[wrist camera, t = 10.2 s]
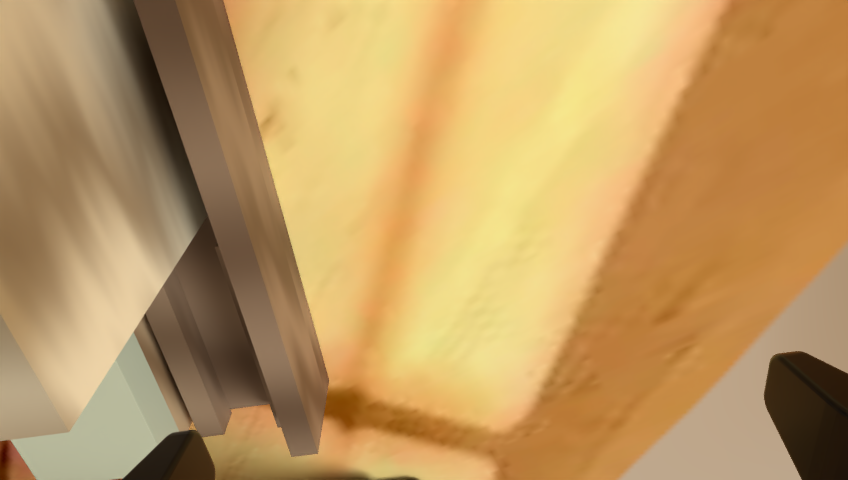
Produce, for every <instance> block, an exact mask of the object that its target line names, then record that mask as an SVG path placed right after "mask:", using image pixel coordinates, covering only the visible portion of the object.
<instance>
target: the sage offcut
mask: <svg viewBox="0 0 848 480" xmlns="http://www.w3.org/2000/svg"><path fill="white" fill-rule="evenodd" d="M173 432H179V430H178V427H177V425H176V423H175V421H174V419H173V417H172V414H171V412H170V410H169V408H168V406H167V404H166V401H165V399H164V397H163V395H162V393H161V391H160V388H159V386H158V384H157V382H156V380H155V378H154V375H153V373H152V371H151V369H150V367H149V365H148V362H147V360H146V358H145V356H144V354H143V352H142V349H141V347H140V345H139V343H138V341H137V339H136V336H135V334H134V332H133V333H132V335H131V336H130V338H129V339H128V341H127V343H126V344H125V346H124V347H123V349H122V350H121V352H120V354H119V355H118V357H117V358H116V360H115V361H114V363H113V365H112V366H111V368H110V369H109V371H108V372H107V374H106V375H105V377H104V379H103V380H102V382H101V383H100V385H99V386H98V388H97V390H96V391H95V393H94V394H93V396H92V397H91V399H90V401H89V402H88V404H87V405H86V407H85V408H84V410H83V411H82V413H81V415H80V416H79V418H78V419H77V421H76V422H75V424H74V426H73V427H72V429H71V430H70V432H67V433H60V434H52V435H44V436H36V437H29V438H21V439H13V440H11V442H12V443H13V445H14V446H15V448H16V449H17V451H18V452H19V454H20V455H21V457H22V458H23V460H24V461H25V463H26V464H27V466H28V467H29V469H30V471H31V472H32V474H33V475H34V477H35V478H36V480H113V479H121V478H124V477H125V476H126V475H127V474H128V473H129V472H130V471H131V470H132V469H133V468H134V467H135V466H136V465H137V464H138V463H139V462H140V461H141V460H143V459H144V458H145V457H146V456H147V455H148V454H149V453H150V452H151V451H152V450H153V449H154V448H155V447H156V446H157V445H158V444H159V443H160V442H161V441H162V440H163V439H164V438H165V437H166V436H168V435H169V434H171V433H173Z"/></svg>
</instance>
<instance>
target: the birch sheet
mask: <svg viewBox="0 0 848 480" xmlns="http://www.w3.org/2000/svg"><path fill="white" fill-rule="evenodd" d="M207 216H208V214H207V211H206V208H205V206H204V203H203V200H202V197H201V194H200V191H199V188H198V185H197V182H196V180H195V177H194V174H193V171H192V168H191V165H190V162H189V159H188V156H187V154H186V151H185V148H184V145H183V142H182V139H181V136H180V133H179V131H178V128H177V125H176V122H175V119H174V116H173V113H172V110H171V107H170V105H169V102H168V99H167V96H166V93H165V90H164V87H163V84H162V81H161V79H160V76H159V73H158V70H157V67H156V64H155V61H154V58H153V55H152V53H151V50H150V47H149V44H148V41H147V38H146V35H145V32H144V30H143V27H142V24H141V21H140V18H139V15H138V12H137V9H136V6H135V4H134V1H133V0H0V441H5V440H13V439H21V438H29V437H36V436H44V435H52V434H60V433H67V432H70V430H71V429H72V427H73V426H74V424H75V422H76V421H77V419H78V418H79V416H80V415H81V413H82V411H83V410H84V408H85V407H86V405H87V404H88V402H89V401H90V399H91V397H92V396H93V394H94V393H95V391H96V390H97V388H98V386H99V385H100V383H101V382H102V380H103V379H104V377H105V375H106V374H107V372H108V371H109V369H110V368H111V366H112V365H113V363H114V361H115V360H116V358H117V357H118V355H119V354H120V352H121V350H122V349H123V347H124V346H125V344H126V343H127V341H128V339H129V338H130V336H131V335H132V333H133V332H134V330H135V329H136V327H137V325H138V324H139V322H140V321H141V319H142V318H143V316H144V314H145V313H146V311H147V310H148V308H149V307H150V305H151V303H152V302H153V300H154V299H155V297H156V296H157V294H158V292H159V291H160V289H161V288H162V286H163V285H164V283H165V282H166V280H167V278H168V277H169V275H170V274H171V272H172V271H173V269H174V267H175V266H176V264H177V263H178V261H179V260H180V258H181V256H182V255H183V253H184V252H185V250H186V249H187V247H188V246H189V244H190V242H191V241H192V239H193V238H194V236H195V235H196V233H197V231H198V230H199V228H200V227H201V225H202V224H203V222H204V220H205V219H206V217H207Z"/></svg>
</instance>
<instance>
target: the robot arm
mask: <svg viewBox="0 0 848 480" xmlns="http://www.w3.org/2000/svg"><path fill="white" fill-rule="evenodd" d="M764 400H765V405H766V408H767V410H768V412H769V414H770V416H771V418H772V420H773V422H774V424H775V426H776V428H777V430H778V432H779V434H780V436H781V439H782V440H783V442H784V445H785V447H786V448H787V451H788V453H789V455H790V457H791V459H792V461H793V463H794V465H795V467H796V469H797V471H798V473H799V475H800V477H801V479H802V480H848V373H845V372H843V371H841V370H839V369H837V368H835V367H833V366H831V365H829V364H827V363H825V362H823V361H821V360H819V359H817V358H815V357H813V356H811V355H809V354H807V353H804V352H801V351H795V352H787V353H779V354H776V355H774V356H773V357H772V358H771V360H770V363H769V370H768V375H767V380H766V386H765V391H764ZM122 480H215V468H214V464H213V461H212V459H211V457H210V454H209V452H208V450H207V448H206V445H205V443H204V441H203V439H202V436H201V435H200V433H199V432H198V431H196V430H187V431H179V432H173V433H171V434H169V435H168V436H166V437H165V438H164V439H163V440H162V441H161V442H160V443H159V444H158V445H157V446H156V447H155V448H154V449H153V450H152V451H151V452H150V453H149V454H148V455H147V456H146V457H145V458H144V459H143V460H141V461H140V462H139V463H138V464H137V465H136V466H135V467H134V468H133V469H132V470H131V471H130V472H129V473H128V474H127V475H126V476H125V477H124V478H123V479H122Z"/></svg>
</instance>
